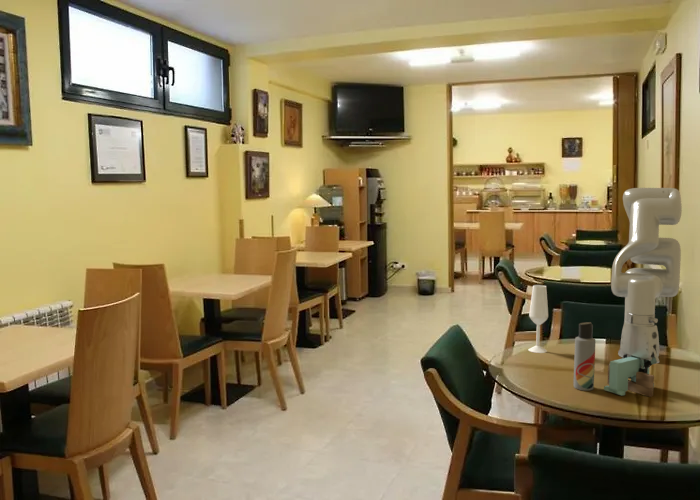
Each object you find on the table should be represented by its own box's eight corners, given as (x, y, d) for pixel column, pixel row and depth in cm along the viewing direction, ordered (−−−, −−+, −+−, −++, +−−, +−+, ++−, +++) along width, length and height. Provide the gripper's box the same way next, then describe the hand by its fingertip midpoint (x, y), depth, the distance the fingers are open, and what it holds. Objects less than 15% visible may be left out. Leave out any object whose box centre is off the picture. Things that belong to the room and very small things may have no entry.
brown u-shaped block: (607, 383, 190) (608, 364, 189) (610, 382, 191) (611, 363, 190) (649, 396, 178) (650, 376, 177) (652, 395, 179) (653, 375, 178)
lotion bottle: (591, 392, 182) (594, 325, 180) (571, 388, 185) (573, 323, 183) (595, 386, 187) (597, 321, 185) (575, 383, 190) (578, 319, 188)
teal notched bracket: (635, 381, 190) (637, 352, 189) (653, 386, 185) (655, 357, 184) (603, 389, 183) (604, 360, 182) (621, 395, 178) (623, 365, 177)
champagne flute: (531, 347, 233) (533, 284, 230) (549, 349, 229) (551, 285, 226) (525, 351, 227) (527, 286, 225) (543, 353, 223) (545, 288, 221)
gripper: (673, 322, 179) (670, 384, 181) (624, 313, 193) (621, 370, 195) (657, 325, 175) (654, 389, 177) (608, 315, 189) (605, 374, 191)
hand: (637, 378), depth 186 cm, fingers closed on teal notched bracket, 2 cm apart
